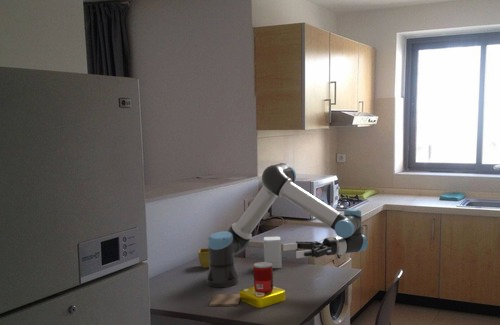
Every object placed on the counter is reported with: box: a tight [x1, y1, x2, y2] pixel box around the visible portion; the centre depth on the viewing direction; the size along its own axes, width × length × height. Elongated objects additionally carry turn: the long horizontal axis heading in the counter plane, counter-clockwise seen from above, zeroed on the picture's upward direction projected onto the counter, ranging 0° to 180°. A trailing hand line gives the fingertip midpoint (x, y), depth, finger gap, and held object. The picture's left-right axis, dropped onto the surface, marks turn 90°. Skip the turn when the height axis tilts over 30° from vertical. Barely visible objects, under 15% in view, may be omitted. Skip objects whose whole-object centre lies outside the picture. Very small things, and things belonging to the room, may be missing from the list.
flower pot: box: [197, 247, 210, 269], centre depth 257 cm, size 9×9×9 cm
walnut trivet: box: [208, 293, 241, 307], centre depth 203 cm, size 12×12×1 cm
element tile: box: [238, 285, 286, 309], centre depth 203 cm, size 15×15×5 cm
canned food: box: [253, 261, 274, 293], centre depth 201 cm, size 8×8×11 cm
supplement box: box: [263, 236, 283, 269], centre depth 253 cm, size 9×9×15 cm
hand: (289, 251), depth 205 cm, fingers open, 13 cm apart
